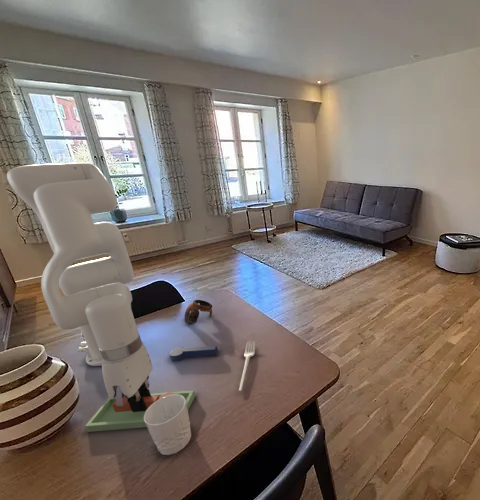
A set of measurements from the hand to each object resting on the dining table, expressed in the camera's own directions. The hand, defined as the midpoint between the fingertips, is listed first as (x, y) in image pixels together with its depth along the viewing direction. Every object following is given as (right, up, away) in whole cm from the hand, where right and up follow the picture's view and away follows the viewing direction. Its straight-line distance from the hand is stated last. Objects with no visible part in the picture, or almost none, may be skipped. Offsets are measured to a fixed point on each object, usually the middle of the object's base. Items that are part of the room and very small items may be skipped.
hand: (142, 406), depth 74 cm
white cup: (+12, -5, -6) cm, 14 cm away
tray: (0, -2, +1) cm, 2 cm away
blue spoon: (+1, +5, +21) cm, 21 cm away
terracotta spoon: (+2, 0, 0) cm, 2 cm away
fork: (+21, +3, +16) cm, 26 cm away
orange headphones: (-7, +12, +40) cm, 42 cm away
